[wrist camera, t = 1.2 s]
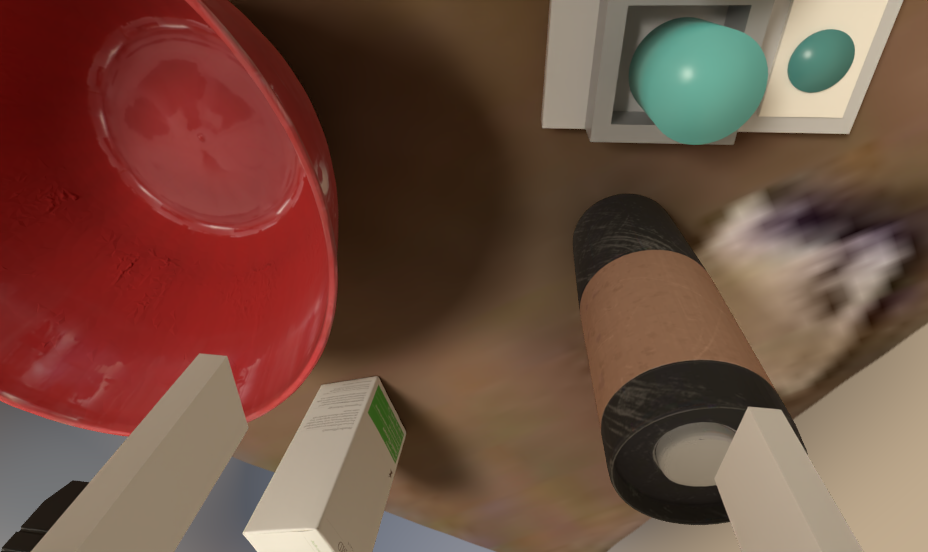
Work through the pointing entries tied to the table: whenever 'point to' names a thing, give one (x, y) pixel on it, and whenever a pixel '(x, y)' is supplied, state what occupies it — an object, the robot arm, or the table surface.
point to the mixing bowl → (156, 209)
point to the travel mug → (662, 361)
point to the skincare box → (333, 474)
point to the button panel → (731, 5)
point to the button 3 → (698, 79)
